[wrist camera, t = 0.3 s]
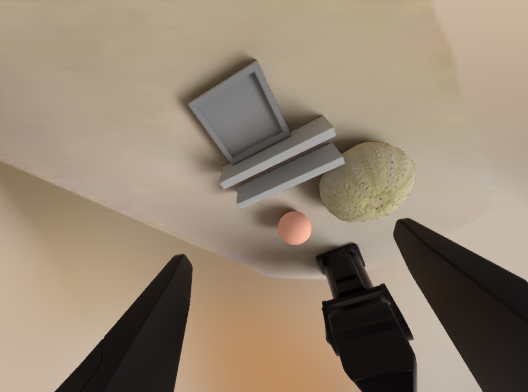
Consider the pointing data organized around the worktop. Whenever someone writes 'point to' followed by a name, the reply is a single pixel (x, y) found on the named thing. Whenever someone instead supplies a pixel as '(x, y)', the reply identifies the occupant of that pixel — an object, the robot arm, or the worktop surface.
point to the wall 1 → (278, 151)
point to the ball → (294, 228)
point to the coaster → (241, 114)
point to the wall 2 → (289, 175)
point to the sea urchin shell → (368, 182)
